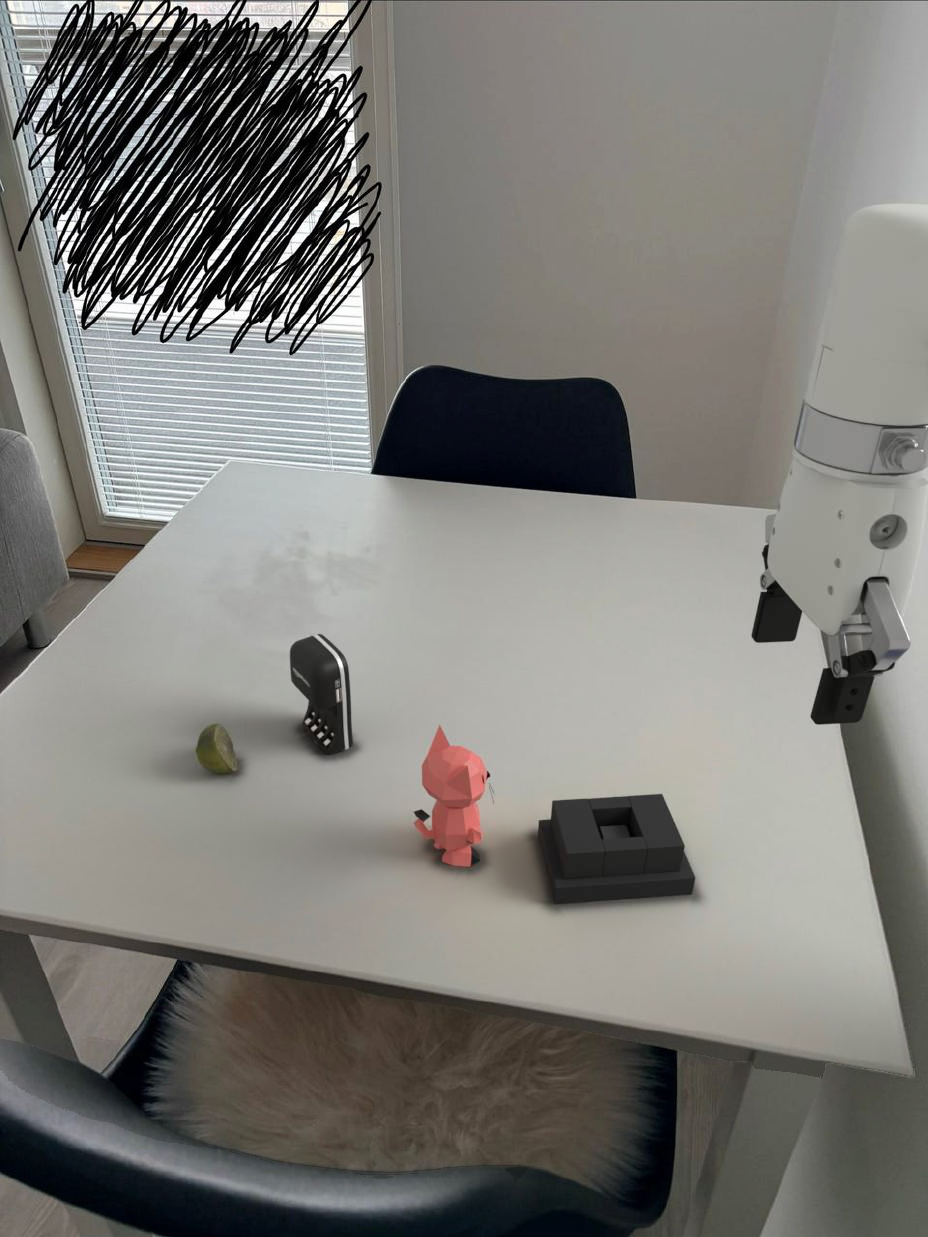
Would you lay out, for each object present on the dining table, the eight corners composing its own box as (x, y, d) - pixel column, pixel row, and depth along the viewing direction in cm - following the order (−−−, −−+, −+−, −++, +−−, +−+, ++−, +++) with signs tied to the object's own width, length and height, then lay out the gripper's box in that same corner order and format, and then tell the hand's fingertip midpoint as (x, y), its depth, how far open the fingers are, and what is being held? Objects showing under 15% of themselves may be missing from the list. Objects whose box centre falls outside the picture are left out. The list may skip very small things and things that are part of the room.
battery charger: (292, 727, 94) (282, 637, 88) (324, 715, 96) (316, 626, 90) (322, 763, 89) (314, 669, 83) (355, 749, 91) (350, 657, 85)
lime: (227, 747, 91) (220, 708, 88) (254, 769, 88) (248, 729, 85) (188, 767, 88) (181, 728, 85) (216, 790, 85) (209, 750, 82)
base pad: (664, 827, 82) (669, 799, 80) (692, 894, 75) (698, 865, 73) (537, 836, 80) (539, 807, 79) (554, 904, 74) (557, 875, 72)
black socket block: (657, 818, 80) (662, 793, 78) (680, 871, 74) (685, 845, 73) (550, 825, 79) (552, 800, 77) (564, 879, 73) (567, 853, 72)
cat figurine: (503, 865, 77) (509, 759, 71) (431, 889, 75) (431, 781, 69) (470, 813, 83) (473, 711, 77) (402, 834, 80) (399, 730, 74)
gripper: (1018, 492, 44) (922, 755, 53) (853, 394, 59) (799, 612, 68) (877, 496, 44) (804, 762, 52) (746, 395, 58) (705, 616, 67)
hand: (801, 677), depth 60 cm, fingers open, 9 cm apart
